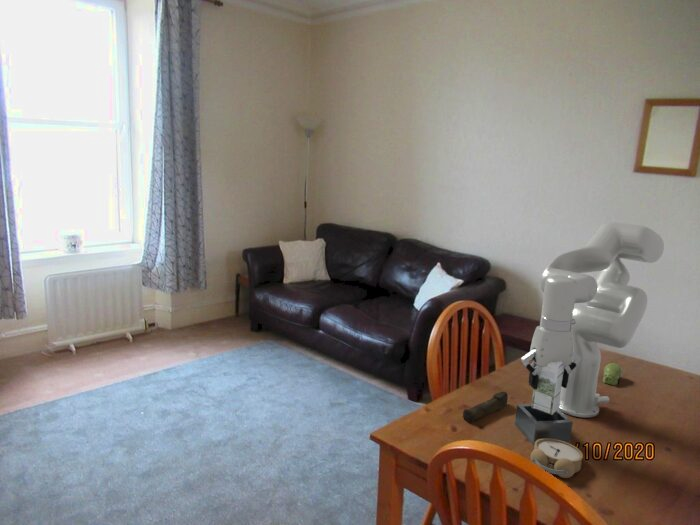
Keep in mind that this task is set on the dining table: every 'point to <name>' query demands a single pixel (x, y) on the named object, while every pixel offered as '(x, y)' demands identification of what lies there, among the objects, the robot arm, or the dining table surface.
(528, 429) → the socket holder
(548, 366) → the syrup box
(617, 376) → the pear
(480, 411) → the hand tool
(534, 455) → the alarm clock
